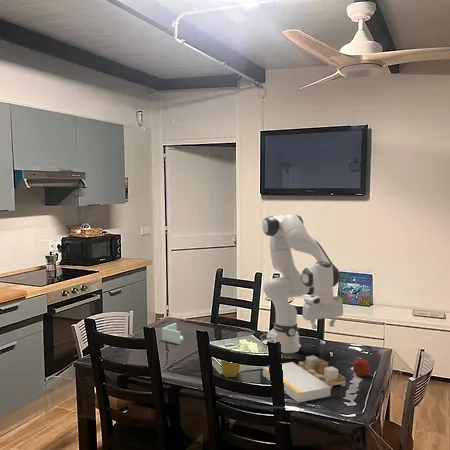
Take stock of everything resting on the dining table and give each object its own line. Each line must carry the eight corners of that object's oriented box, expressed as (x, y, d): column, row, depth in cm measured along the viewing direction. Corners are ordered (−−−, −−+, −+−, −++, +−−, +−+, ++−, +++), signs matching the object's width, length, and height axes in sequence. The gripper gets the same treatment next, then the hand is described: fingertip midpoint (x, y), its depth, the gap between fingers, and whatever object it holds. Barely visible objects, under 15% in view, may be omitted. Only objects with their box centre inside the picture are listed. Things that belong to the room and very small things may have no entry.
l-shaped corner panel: (179, 345, 269) (179, 331, 269) (162, 341, 276) (162, 328, 275) (192, 339, 280) (192, 326, 279) (175, 335, 286) (175, 322, 285)
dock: (262, 375, 229) (262, 366, 228) (292, 370, 235) (292, 361, 235) (297, 402, 201) (298, 392, 201) (330, 395, 208) (330, 386, 208)
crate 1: (305, 365, 235) (306, 356, 234) (313, 364, 237) (313, 355, 236) (311, 368, 231) (311, 359, 230) (318, 367, 233) (319, 358, 232)
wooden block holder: (298, 369, 237) (298, 354, 236) (314, 367, 240) (314, 351, 240) (328, 389, 215) (329, 372, 214) (345, 386, 219) (345, 369, 218)
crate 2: (324, 377, 222) (324, 367, 221) (332, 375, 223) (332, 366, 223) (329, 380, 218) (330, 371, 217) (338, 379, 219) (338, 369, 219)
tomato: (363, 354, 233) (358, 356, 226) (375, 367, 229) (371, 369, 223) (351, 365, 235) (346, 367, 228) (363, 378, 232) (359, 381, 225)
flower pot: (219, 371, 232) (219, 353, 231) (238, 371, 233) (238, 353, 232) (220, 379, 224) (221, 360, 223) (240, 379, 224) (240, 359, 223)
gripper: (337, 294, 231) (337, 323, 232) (300, 298, 223) (300, 328, 224) (346, 296, 226) (345, 326, 227) (308, 301, 217) (308, 332, 218)
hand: (323, 327), depth 225 cm, fingers open, 8 cm apart
